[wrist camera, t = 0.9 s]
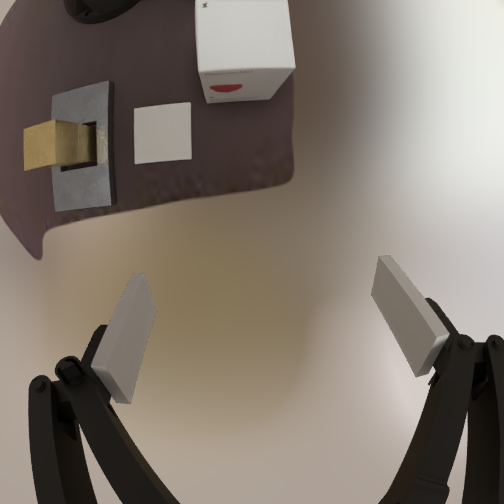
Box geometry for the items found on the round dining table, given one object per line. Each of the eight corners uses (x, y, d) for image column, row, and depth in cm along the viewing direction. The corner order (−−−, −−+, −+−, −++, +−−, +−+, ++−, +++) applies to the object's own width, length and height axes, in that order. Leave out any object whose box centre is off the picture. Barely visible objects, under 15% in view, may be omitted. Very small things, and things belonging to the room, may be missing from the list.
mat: (135, 109, 34) (134, 108, 33) (191, 103, 35) (190, 102, 34) (136, 164, 36) (134, 164, 36) (191, 159, 37) (191, 159, 37)
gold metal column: (70, 133, 34) (23, 129, 22) (97, 127, 34) (55, 119, 23) (70, 165, 35) (24, 170, 24) (98, 160, 36) (55, 163, 24)
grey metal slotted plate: (58, 97, 31) (52, 95, 30) (113, 83, 32) (109, 80, 30) (61, 209, 37) (55, 211, 35) (116, 203, 38) (111, 205, 36)
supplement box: (205, 105, 35) (194, 73, 21) (202, 49, 32) (192, -3, 18) (271, 101, 36) (297, 69, 21) (267, 46, 33) (288, -6, 19)
